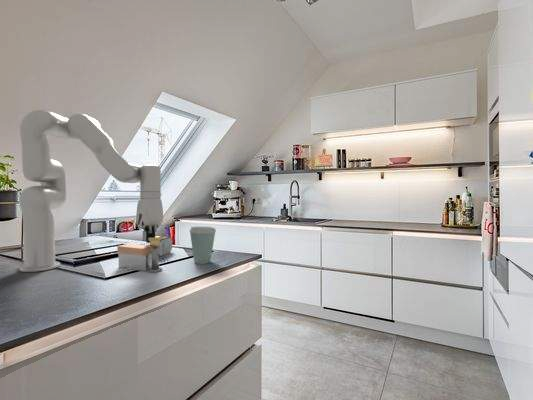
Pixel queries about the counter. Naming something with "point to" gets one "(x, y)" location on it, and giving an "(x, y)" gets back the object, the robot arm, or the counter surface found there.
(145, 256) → the housing
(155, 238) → the key
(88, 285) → the counter surface
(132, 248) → the cover
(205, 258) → the disposable coffee cup
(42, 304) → the counter surface
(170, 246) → the tin
